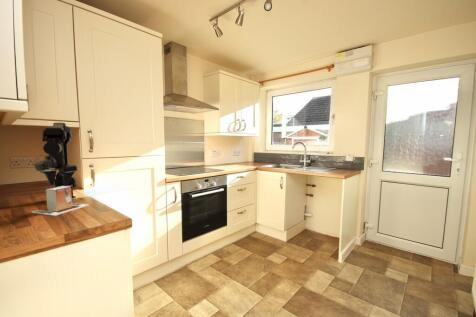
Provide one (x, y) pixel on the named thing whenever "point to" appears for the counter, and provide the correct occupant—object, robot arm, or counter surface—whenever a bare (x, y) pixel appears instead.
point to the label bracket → (60, 212)
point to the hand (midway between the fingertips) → (58, 185)
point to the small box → (59, 198)
